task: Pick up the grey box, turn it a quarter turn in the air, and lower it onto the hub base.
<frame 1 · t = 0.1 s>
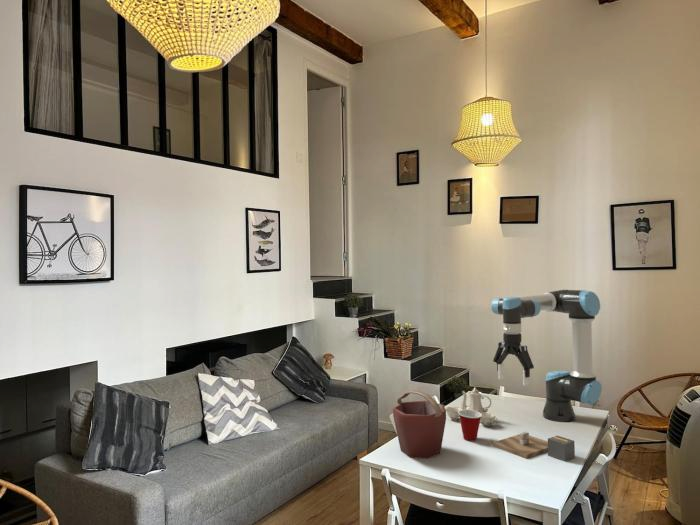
hand: (513, 381, 232), 28 cm above the table, fingers open, 13 cm apart
chinaware: (473, 421, 269), on the table
grey box: (561, 456, 219), on the table
plastic cup: (470, 439, 243), on the table
hub base: (524, 446, 231), on the table
bucket: (422, 451, 230), on the table
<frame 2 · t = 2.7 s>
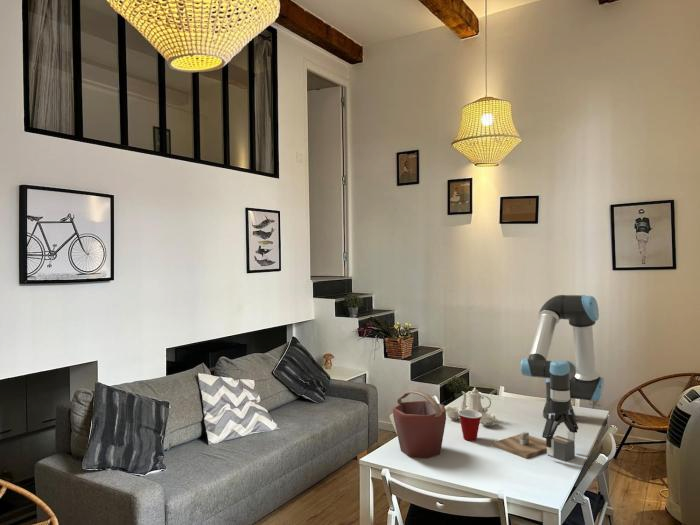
hand: (560, 451, 219), 2 cm above the table, fingers open, 13 cm apart
nothing on the table moved.
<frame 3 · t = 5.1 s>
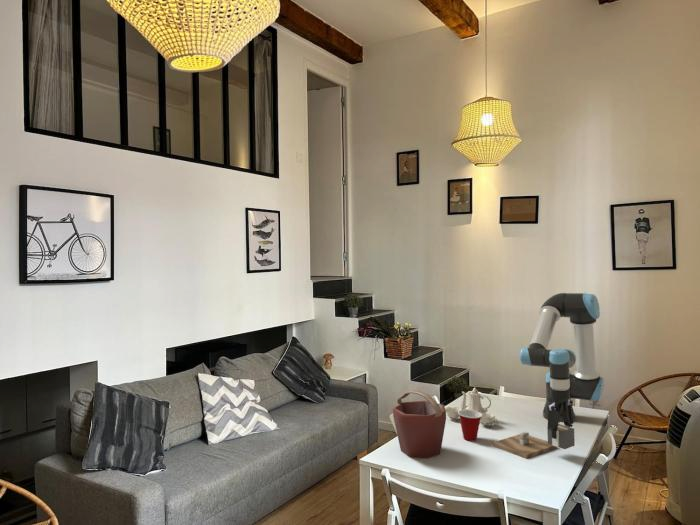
hand: (561, 443, 219), 5 cm above the table, fingers closed on grey box, 6 cm apart
grey box: (561, 444, 219), point 5 cm above the table, touching gripper
everything else where it was.
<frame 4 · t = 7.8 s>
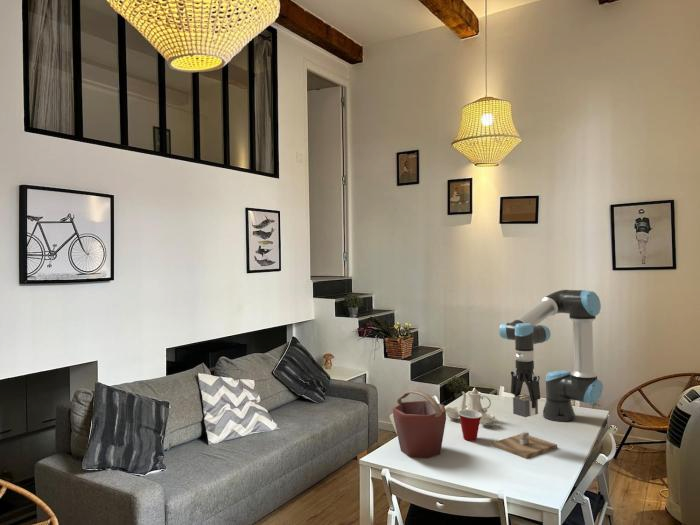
hand: (525, 413, 230), 15 cm above the table, fingers closed on grey box, 6 cm apart
grey box: (525, 413, 230), point 15 cm above the table, touching gripper
everything else where it was.
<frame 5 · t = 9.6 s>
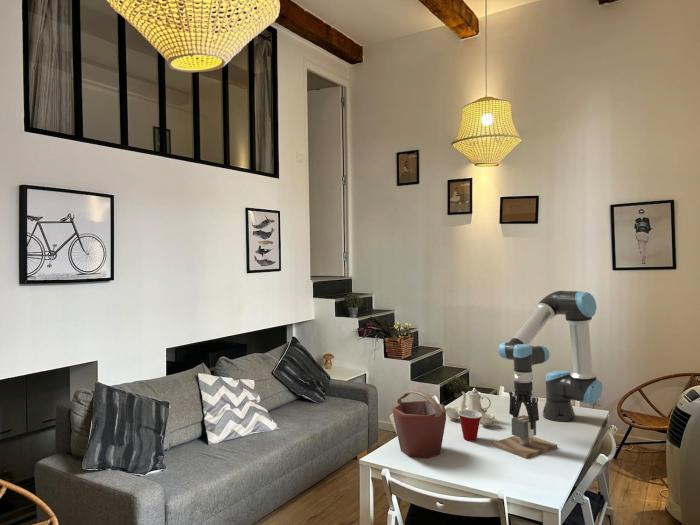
hand: (524, 434, 231), 6 cm above the table, fingers closed on grey box, 6 cm apart
grey box: (524, 434, 231), point 5 cm above the table, touching gripper
everything else where it was.
when the fingers open (3 cm above the table, at t = 10.8 s): grey box drops 1 cm, resting on hub base.
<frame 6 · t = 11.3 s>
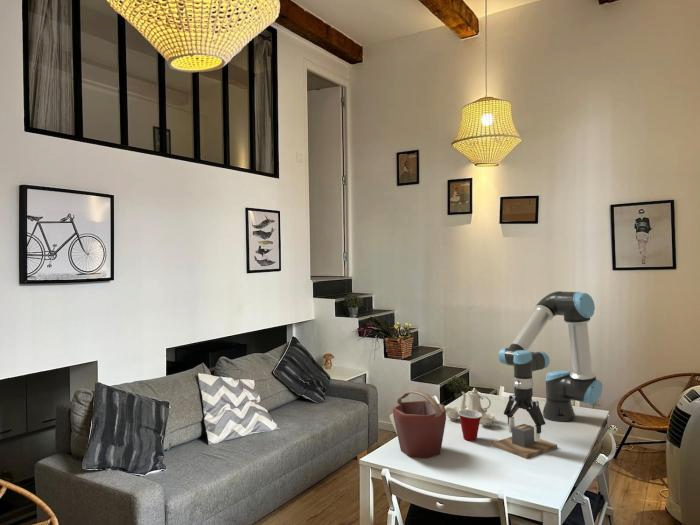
hand: (524, 436, 231), 5 cm above the table, fingers open, 13 cm apart
grey box: (524, 443, 231), point 1 cm above the table, touching hub base
everything else where it was.
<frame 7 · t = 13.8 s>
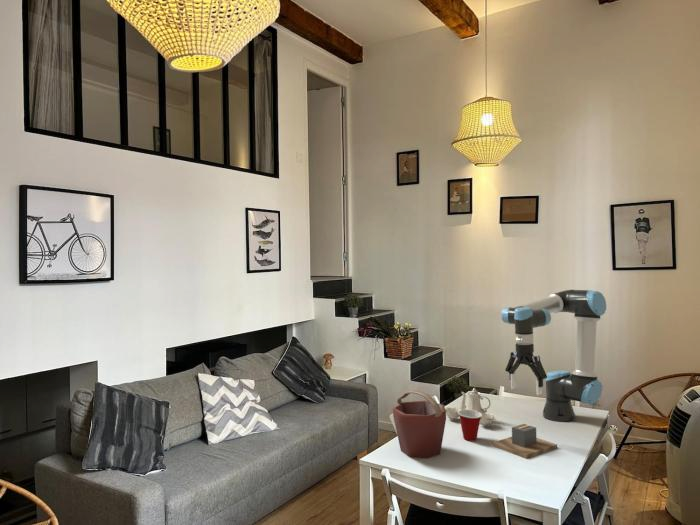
hand: (526, 391, 235), 23 cm above the table, fingers open, 13 cm apart
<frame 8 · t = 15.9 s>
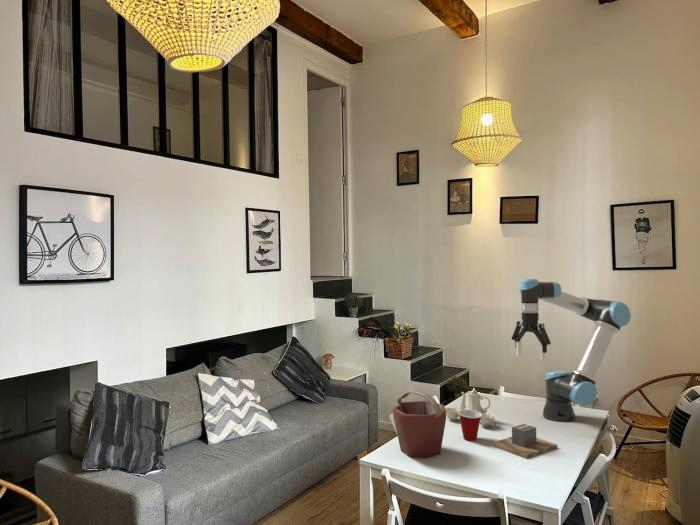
hand: (530, 357, 250), 35 cm above the table, fingers open, 13 cm apart
at the end: grey box 0.1 cm off-centre on the hub base, point 1.5 cm above the hub base's base; grey box tilted 0°; the gripper is holding nothing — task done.
